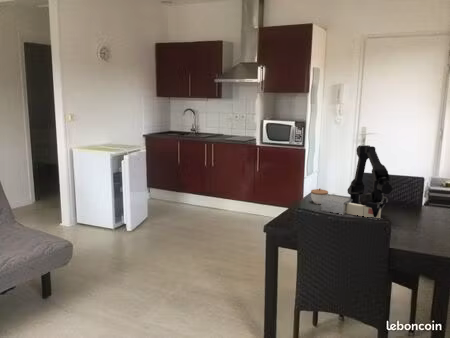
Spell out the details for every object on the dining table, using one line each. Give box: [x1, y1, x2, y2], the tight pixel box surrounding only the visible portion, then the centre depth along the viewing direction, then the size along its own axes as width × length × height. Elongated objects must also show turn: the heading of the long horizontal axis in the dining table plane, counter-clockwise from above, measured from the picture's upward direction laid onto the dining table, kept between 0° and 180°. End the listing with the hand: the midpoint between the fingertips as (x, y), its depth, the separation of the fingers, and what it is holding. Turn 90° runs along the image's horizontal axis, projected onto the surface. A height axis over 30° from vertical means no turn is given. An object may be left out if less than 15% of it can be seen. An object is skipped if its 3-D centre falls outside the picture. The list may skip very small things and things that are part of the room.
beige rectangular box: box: [345, 203, 382, 219], centre depth 235 cm, size 3×19×6 cm, turn 51°
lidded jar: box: [310, 188, 329, 205], centre depth 263 cm, size 11×11×9 cm
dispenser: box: [320, 194, 353, 216], centre depth 245 cm, size 11×15×8 cm
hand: (376, 216), depth 231 cm, fingers closed on beige rectangular box, 3 cm apart
